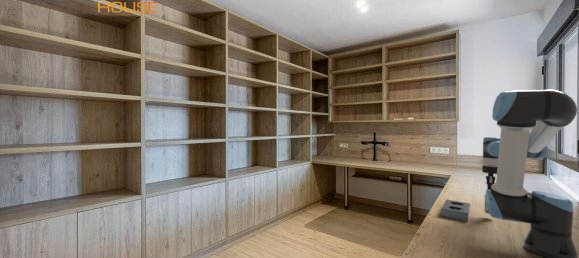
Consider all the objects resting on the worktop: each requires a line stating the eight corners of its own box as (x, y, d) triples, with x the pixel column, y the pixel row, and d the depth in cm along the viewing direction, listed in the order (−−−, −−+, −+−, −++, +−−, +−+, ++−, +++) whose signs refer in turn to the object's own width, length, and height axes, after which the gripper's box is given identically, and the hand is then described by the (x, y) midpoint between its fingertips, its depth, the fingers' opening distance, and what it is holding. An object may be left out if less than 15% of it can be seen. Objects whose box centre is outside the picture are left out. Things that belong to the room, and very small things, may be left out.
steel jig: (467, 221, 134) (468, 213, 134) (441, 216, 142) (441, 208, 142) (469, 211, 152) (470, 203, 152) (446, 206, 159) (446, 199, 159)
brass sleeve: (492, 214, 137) (493, 197, 137) (483, 212, 141) (483, 195, 141) (495, 213, 140) (496, 196, 140) (486, 210, 143) (486, 194, 143)
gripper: (500, 168, 131) (499, 214, 131) (499, 165, 145) (497, 206, 145) (482, 166, 135) (480, 211, 136) (482, 163, 149) (481, 204, 149)
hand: (489, 208), depth 140 cm, fingers closed on brass sleeve, 4 cm apart
